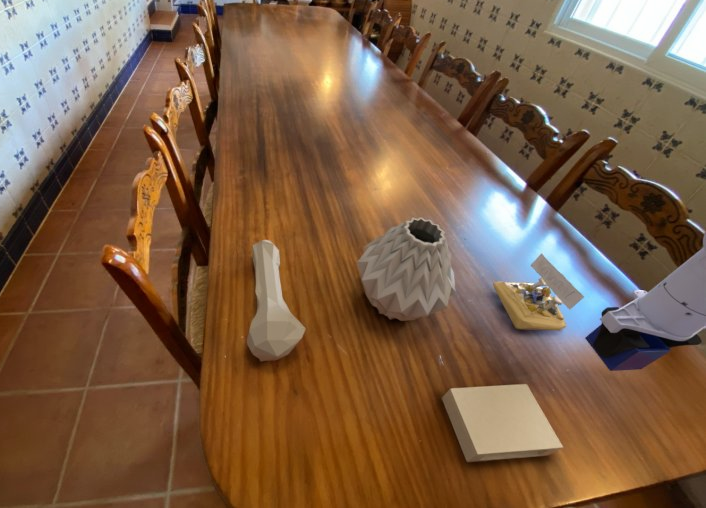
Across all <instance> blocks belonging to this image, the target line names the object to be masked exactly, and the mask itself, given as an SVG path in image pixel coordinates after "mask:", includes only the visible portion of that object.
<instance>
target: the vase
mask: <svg viewBox="0 0 706 508" xmlns="http://www.w3.org/2000/svg"><path fill="white" fill-rule="evenodd" d="M445 234H446V231H445V230H443V229H441V228H440V224H438V223H434V222H433V221H432V220H431V219H425V218H423V217H422V216H420V217H418V218H415V217H411V218H410V219H409V220H405V221H404V222H401V223H400V224H398V225H396V226H395V225H394V226H392V227H390V228H389V229H388V230H387V231H385V232H384V234H383V235H379V236H377V237H375V238H374V239H372V240H371V241H370V242H368V243H367V244H365V245H364V246H363V247H362V255H361V257H360V258H359V259H358V260H357V262H356V265H357V268H358V272H359V275H360V280H361V283H362V285H363V289H364V294H365V296H366V297H367V300H368V301H369V303H370V304H371V306H372V307H375V308H376V310H377V312H378V314H379V315H383V316H385V317H387V318H388V319H389V320H390V321H391V320H395V319H397V320H398V321H401V322H403V321H415V320H417V319H420V318H422V317H429V316H430V315H433V314H436V313H438V312H441V311H443V310H446V309H447V308H448V306H449V301H450V298H451V297H452V296H453V295H454V294H455V293H456V292H457V291H456V280H455V272H454V270H453V268H452V252H451V250H449V248H448V247H449V246H448V243H449V242H448V241H447V237H446V236H445Z"/></svg>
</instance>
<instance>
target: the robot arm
mask: <svg viewBox="0 0 706 508" xmlns="http://www.w3.org/2000/svg"><path fill="white" fill-rule="evenodd" d="M630 296H631V297H632V298H633V299H634V300H632V301H630V302H629V303H626V304H625V305H623V306H622V307H620V308H619V306H608V307H607V306H606V308H604V309H603V310H602V311H601V314H600V315H601V317H600V318H599V320H600V322H601V324H600V325H601V329H600V331H599V333H598V335H597V337H596V339H595V341H594V343H593V347H594V348H595V349H596V351H597V352H598V353H599V355H600V356H601V357H602V358H609V357H613V356H615V355H618V354H620V353H622V352H624V351H627V350H630V349H634V348H645V347H650V346H649V345H648V344H647V343H646V342H645V341H644V339H643V338H642V337H641V336H640V335H639V334H641V332H643V333H647V334H651V335H655V336H658V337H659V338H660V339H661V340H662V341H663V342H664V343H665V344H666V345H667V346H668V348H670V349H671V348H677V347H683V346H699V345H700V344H702V342H703V341H702V338H701V337H700V335H698V333H700V332H701V331H702V330H706V231H705V232H704V234H703V237H702V248H701V249H700V250H698V251H697V252H696V253H694V254H693V255H692V256H691V257H689V259H687V260H686V261H685V262H683V263H682V264H681V265H680V266H679V267H677V268H676V269H675V270H673V271H672V272H671V273H670V274H669V275H667V276H666V277H665V278H664V279H663V280H661V281H660V282H659V283H658V284H656V285H655V286H654V287H652V288H651V289H650V290H649V291H646V290H643V289H635V290H633V291H632V292H631V293H630Z"/></svg>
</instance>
